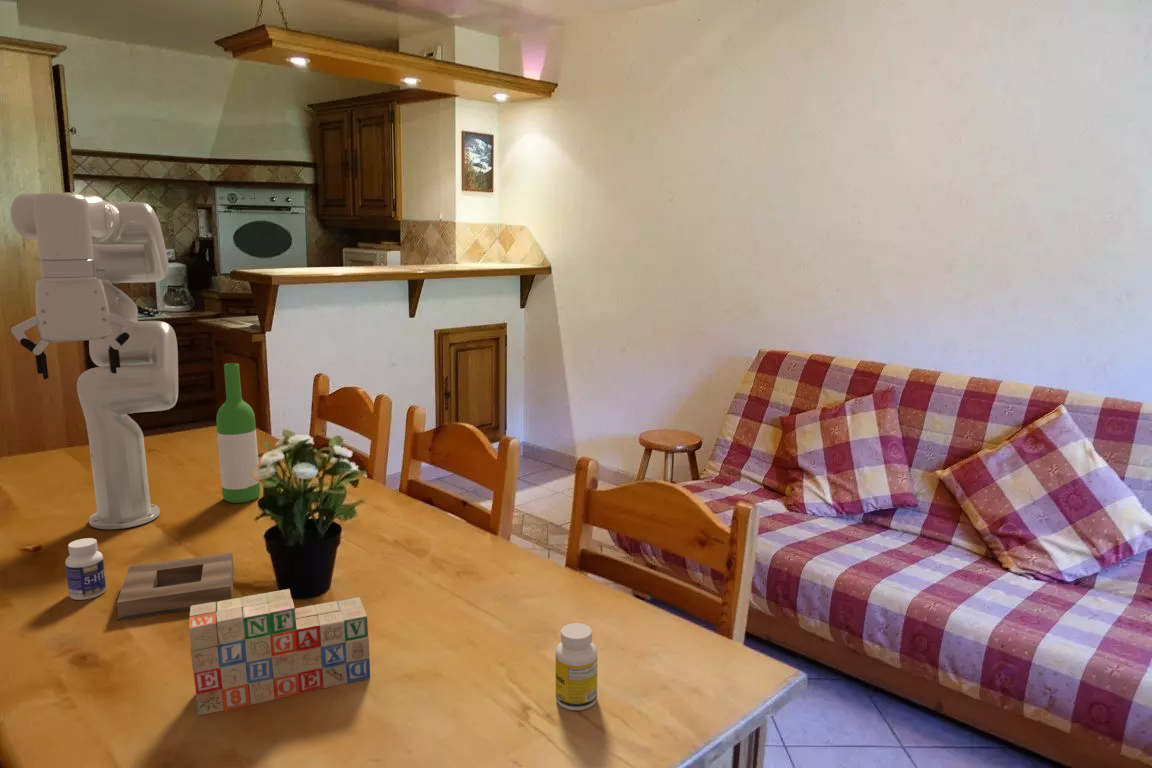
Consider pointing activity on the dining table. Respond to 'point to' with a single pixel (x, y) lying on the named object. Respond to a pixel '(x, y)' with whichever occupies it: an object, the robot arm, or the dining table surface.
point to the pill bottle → (85, 570)
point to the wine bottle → (237, 442)
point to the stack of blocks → (274, 648)
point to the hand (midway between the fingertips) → (80, 375)
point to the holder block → (175, 585)
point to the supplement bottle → (576, 668)
